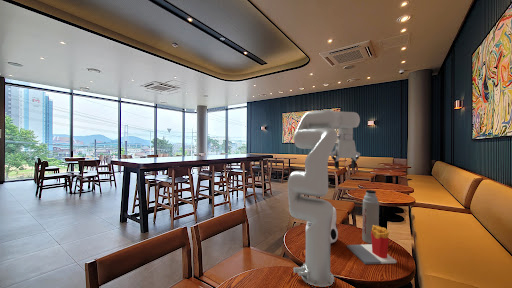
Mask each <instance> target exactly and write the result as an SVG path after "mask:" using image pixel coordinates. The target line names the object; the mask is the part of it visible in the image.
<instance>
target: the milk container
mask: <svg viewBox="0 0 512 288" xmlns="http://www.w3.org/2000/svg"><path fill="white" fill-rule="evenodd" d="M311 225H312V223H311V222H308V221H306V225H305V232H306V231H307V229H308V228H309V227H310V226H311ZM337 226H338V225H337V210H336V208H335V207H334V206H333V217H332V223H331V235H330V245H332V244H334V243H335V242H337V240H338V237H339V232H338V231H339V230H338V227H337Z"/></svg>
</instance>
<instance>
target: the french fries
mask: <svg viewBox="0 0 512 288" xmlns="http://www.w3.org/2000/svg"><path fill="white" fill-rule="evenodd" d="M389 234H390V231H389V230H388V229H387V228H386V227H382V226H380V225H379V226H377V225H376V226H374V225H373V226H372V231H371V239H372V252H373V253H374V254H375V255H377V256H378V257H381V258H387V254H388V249H389V241H390V238H389Z"/></svg>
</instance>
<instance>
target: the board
mask: <svg viewBox="0 0 512 288" xmlns="http://www.w3.org/2000/svg"><path fill="white" fill-rule="evenodd" d="M346 248H347V249H348V250H350V252H352V254H353V255H354V256H355V257H357V258H358V259H359V260H360V261H361V262H362V263H363V264H364V265H380V264H386V265H387V264H397V260H396V259H395V258H394V257H392V256H390V254H388V253H387V258H381V257H378V256H377V255H375V254H374V253H373V252H372V244H370V243H367V244H346Z"/></svg>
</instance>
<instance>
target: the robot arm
mask: <svg viewBox="0 0 512 288" xmlns="http://www.w3.org/2000/svg"><path fill="white" fill-rule="evenodd" d="M360 122H361V118H360V115H359V113H357V112H355V111H335V110H329V109H323V110H313V111H312V110H311V111H307V112H306V113H304V114H303V116H302V117H301V119H300V121H299V123H298V125H297V128H296V129H295V132H294V135H293V142H294V145H295V147H296V148H299V149H301V150H306V149H307V150H310V151H309V153H308V154H307V156H306V157H305V161H304V170H294V171H292V172H291V173H290V175H289V176H288V179H287V199H288V211H289V214H290V216H291V217H292V218H294V219H298V220H300V221H301V220H302V221H306V222H307V221H308V222H311V223H312V225H311V226H310V227H309V228H308V229H307V231H306V230H305V259H304V260H305V262H304V263H303V264H302V265H301V266H300V267H297V266H295V267H293V273H295V274H296V273H297V275H298V277H301V278H302V280H303V282H305V284H307V283H308V284H307V285H309V284H310V285H314V286H319V287H326V286H330V285H332V284H333V282H334V283H335V276H334V275H333V273H332V272H331V244H330V235H331V223H332V217H333V207H334V206H333V204H332V203H331V202H330V201H328V200H325V199H323V198H322V197H325V196H326V195H327V194H328V192H329V169H328V168H329V165H328V164H329V159H330V157H331V159H332V160H333V162H334V165H333V166H334V168H335V169H340V167H339V163H340V162H339V160H340V159H350V160H351V161H350V163H351V166H350V167H351V168H352V169H356V168H357V167H356V166H357V161H358V160H359V159H360V156H361V153H360V152H359V151H357V149H356V141H355V140H353V139H354V138H353V137H354V132H353V131H354V129H353V128H358V127H359V125H360ZM336 130H338V132H337V131H336ZM334 148H335V150H334ZM310 285H309V286H310ZM333 285H334V284H333ZM333 285H332V286H333Z"/></svg>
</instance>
